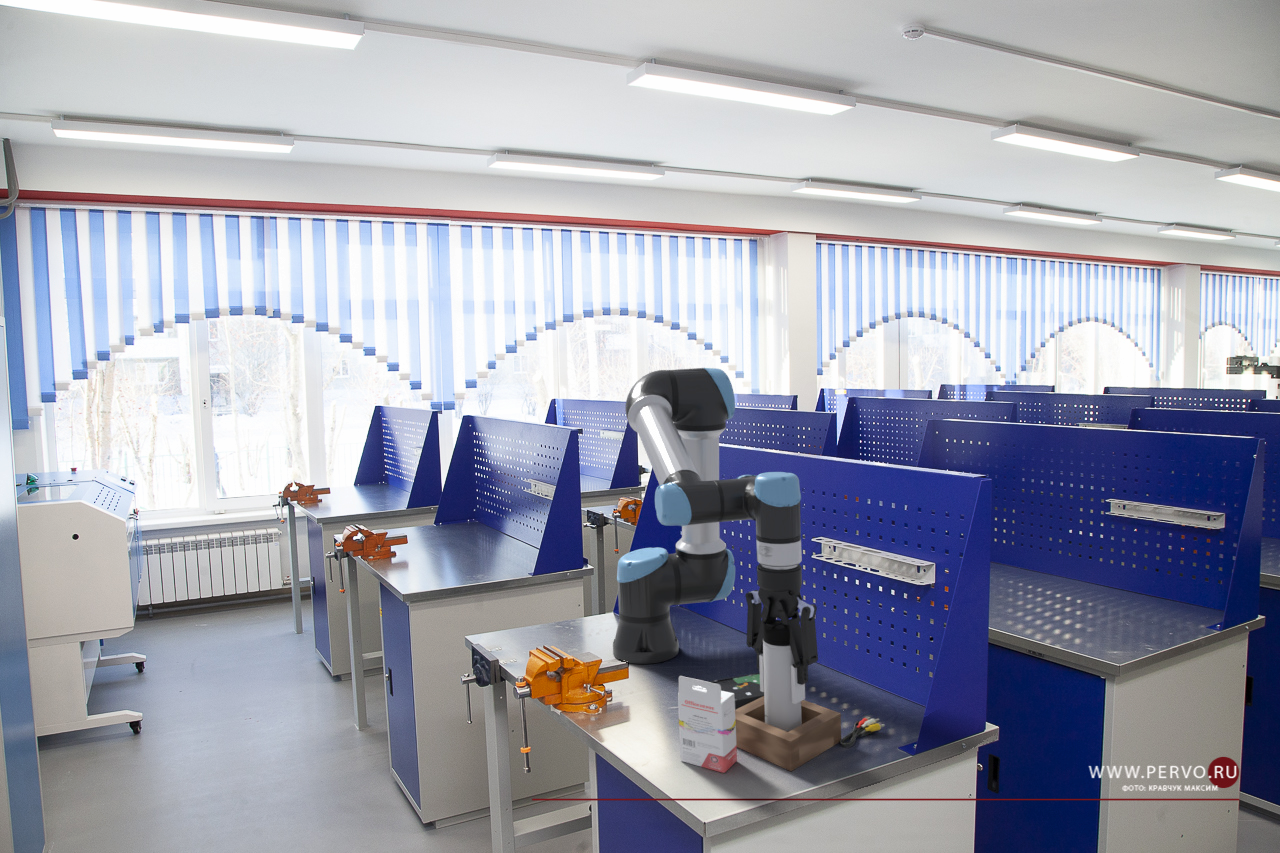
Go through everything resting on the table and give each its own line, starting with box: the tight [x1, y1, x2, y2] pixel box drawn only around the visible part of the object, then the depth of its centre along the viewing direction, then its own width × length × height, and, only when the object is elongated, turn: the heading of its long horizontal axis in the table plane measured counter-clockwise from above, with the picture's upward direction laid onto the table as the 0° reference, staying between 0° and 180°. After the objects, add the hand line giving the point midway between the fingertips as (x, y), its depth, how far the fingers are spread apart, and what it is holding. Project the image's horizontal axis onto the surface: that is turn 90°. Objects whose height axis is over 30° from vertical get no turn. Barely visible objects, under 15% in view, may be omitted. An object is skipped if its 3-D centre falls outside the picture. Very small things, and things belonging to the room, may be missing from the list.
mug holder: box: [735, 696, 842, 772], centre depth 137 cm, size 14×14×5 cm
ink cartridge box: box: [677, 675, 738, 774], centre depth 131 cm, size 9×5×15 cm, turn 56°
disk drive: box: [707, 672, 764, 710], centre depth 156 cm, size 10×3×15 cm
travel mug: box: [763, 619, 802, 732], centre depth 136 cm, size 6×7×20 cm
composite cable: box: [839, 716, 885, 748], centre depth 138 cm, size 10×5×2 cm, turn 124°
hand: (782, 694), depth 136 cm, fingers closed on travel mug, 6 cm apart
